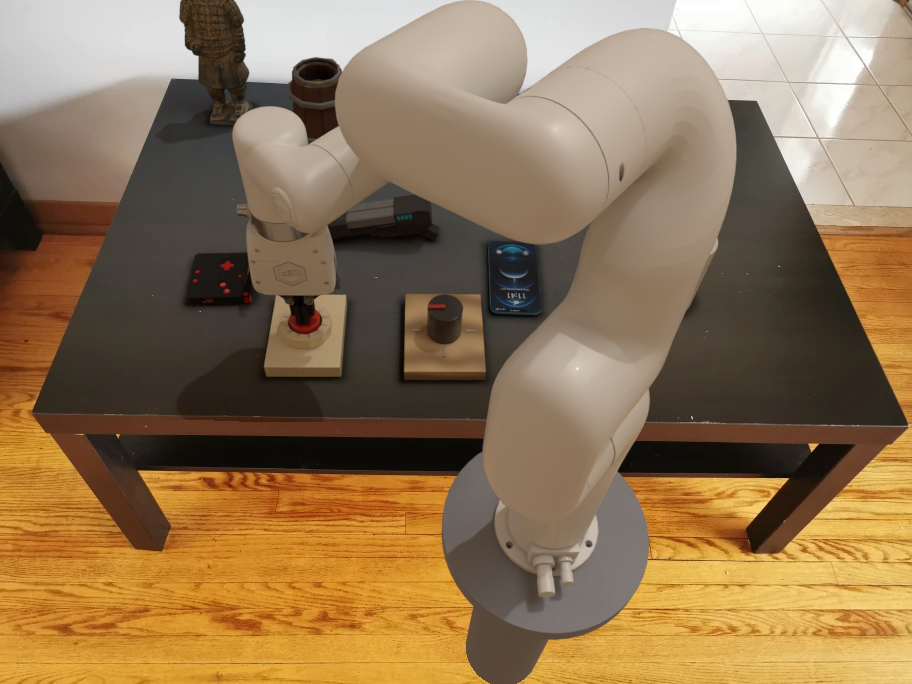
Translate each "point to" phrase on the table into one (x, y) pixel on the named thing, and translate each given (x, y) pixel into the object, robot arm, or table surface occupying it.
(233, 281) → the handheld gaming console
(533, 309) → the smartphone
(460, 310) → the dial
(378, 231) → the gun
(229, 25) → the statue
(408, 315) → the dial panel
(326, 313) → the block
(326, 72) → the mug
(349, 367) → the table surface
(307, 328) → the press button
